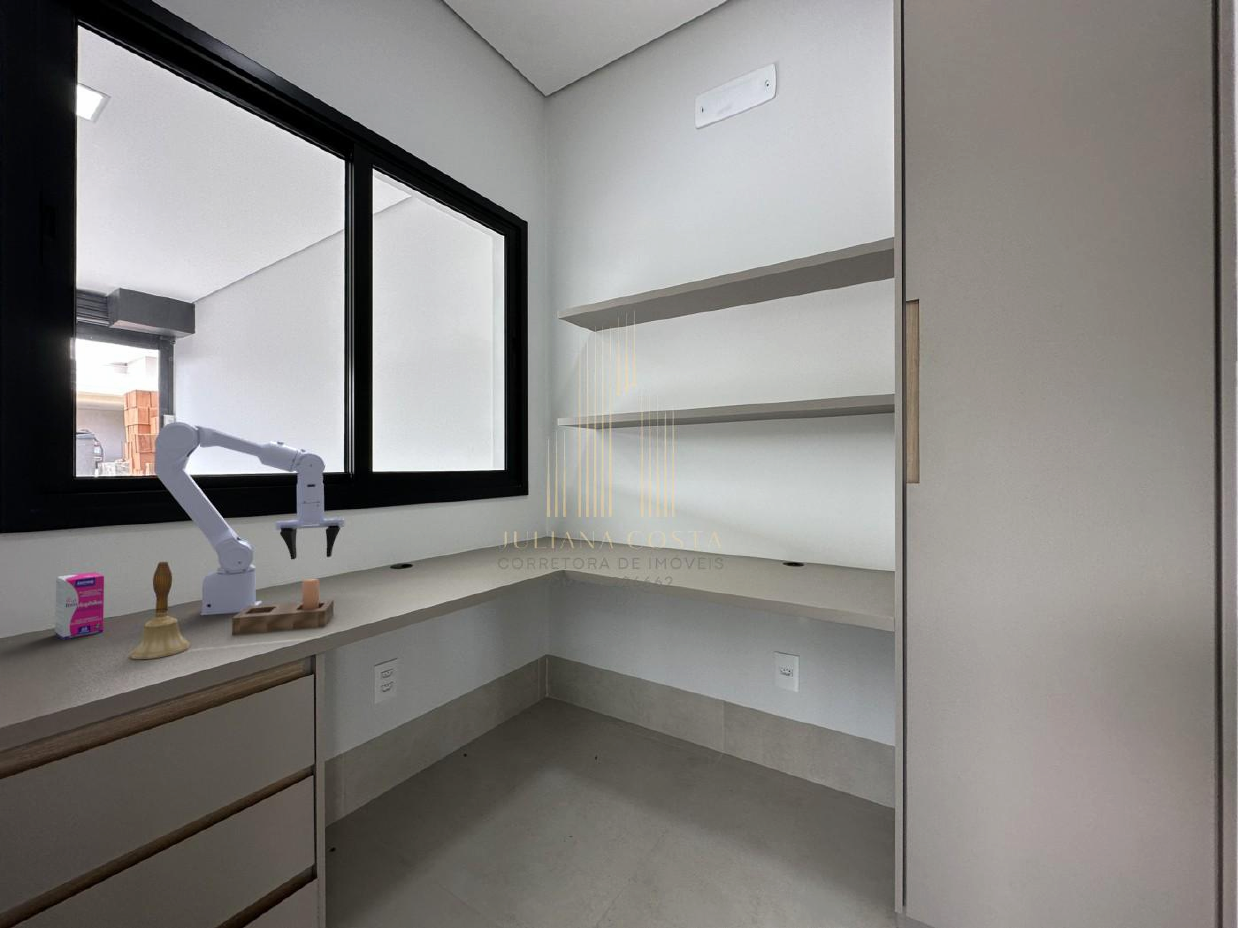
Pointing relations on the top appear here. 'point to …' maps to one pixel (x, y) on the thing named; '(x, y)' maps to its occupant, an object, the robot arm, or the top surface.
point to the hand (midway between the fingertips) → (311, 557)
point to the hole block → (281, 617)
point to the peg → (310, 594)
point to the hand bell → (161, 623)
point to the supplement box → (79, 605)
